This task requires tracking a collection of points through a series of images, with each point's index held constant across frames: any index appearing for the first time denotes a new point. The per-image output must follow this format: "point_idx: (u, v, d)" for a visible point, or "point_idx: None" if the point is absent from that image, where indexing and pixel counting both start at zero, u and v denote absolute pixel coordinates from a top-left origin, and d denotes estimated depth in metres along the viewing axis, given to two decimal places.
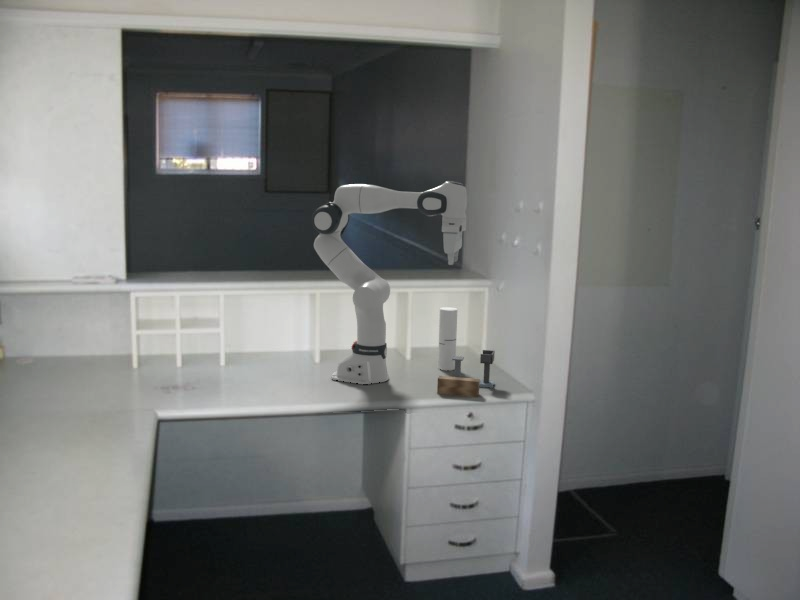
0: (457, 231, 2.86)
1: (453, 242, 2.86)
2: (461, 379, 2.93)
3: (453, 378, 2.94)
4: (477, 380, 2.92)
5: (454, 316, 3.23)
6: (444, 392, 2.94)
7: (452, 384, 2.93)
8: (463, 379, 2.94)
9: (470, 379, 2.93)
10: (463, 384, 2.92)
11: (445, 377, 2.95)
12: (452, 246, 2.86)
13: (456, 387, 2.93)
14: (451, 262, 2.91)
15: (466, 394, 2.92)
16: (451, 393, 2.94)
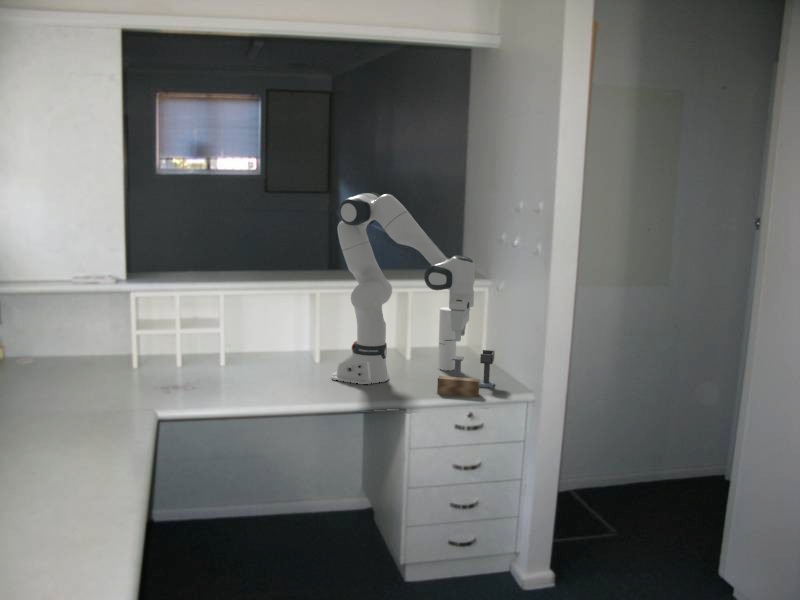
0: (465, 308, 2.80)
1: (461, 320, 2.80)
2: (461, 379, 2.93)
3: (453, 378, 2.94)
4: (477, 380, 2.92)
5: None
6: (444, 392, 2.94)
7: (452, 384, 2.93)
8: (463, 379, 2.94)
9: (470, 379, 2.93)
10: (463, 384, 2.92)
11: (445, 377, 2.95)
12: (460, 323, 2.80)
13: (456, 387, 2.93)
14: (458, 339, 2.86)
15: (466, 394, 2.93)
16: (451, 393, 2.94)
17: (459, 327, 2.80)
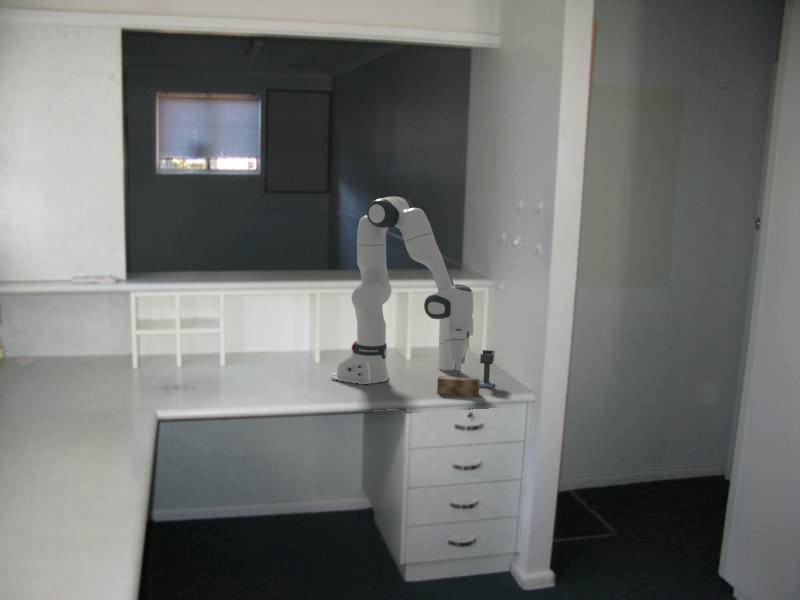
0: (464, 338, 2.82)
1: (460, 349, 2.82)
2: (461, 379, 2.93)
3: (453, 378, 2.94)
4: (477, 380, 2.92)
5: None
6: (444, 392, 2.94)
7: (452, 384, 2.93)
8: (463, 379, 2.94)
9: (470, 379, 2.93)
10: (463, 384, 2.92)
11: (445, 377, 2.95)
12: (460, 353, 2.82)
13: (456, 387, 2.93)
14: (459, 367, 2.87)
15: (466, 394, 2.93)
16: (451, 393, 2.94)
17: (459, 356, 2.82)
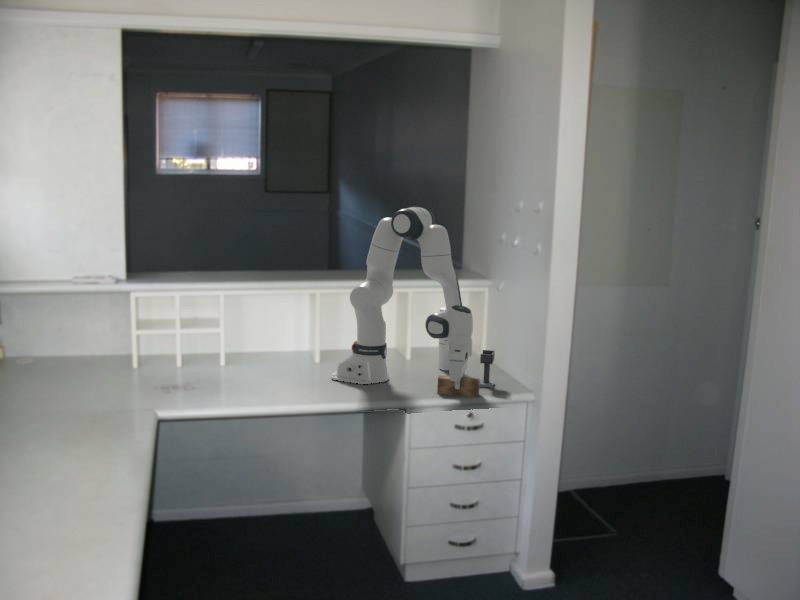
0: (463, 359, 2.84)
1: (459, 370, 2.83)
2: (461, 379, 2.93)
3: None
4: (477, 380, 2.92)
5: None
6: (444, 392, 2.94)
7: (452, 384, 2.93)
8: (463, 378, 2.94)
9: (470, 379, 2.93)
10: (463, 384, 2.92)
11: (445, 377, 2.95)
12: (458, 374, 2.83)
13: None
14: (458, 386, 2.91)
15: (466, 394, 2.92)
16: (451, 393, 2.94)
17: (457, 378, 2.84)
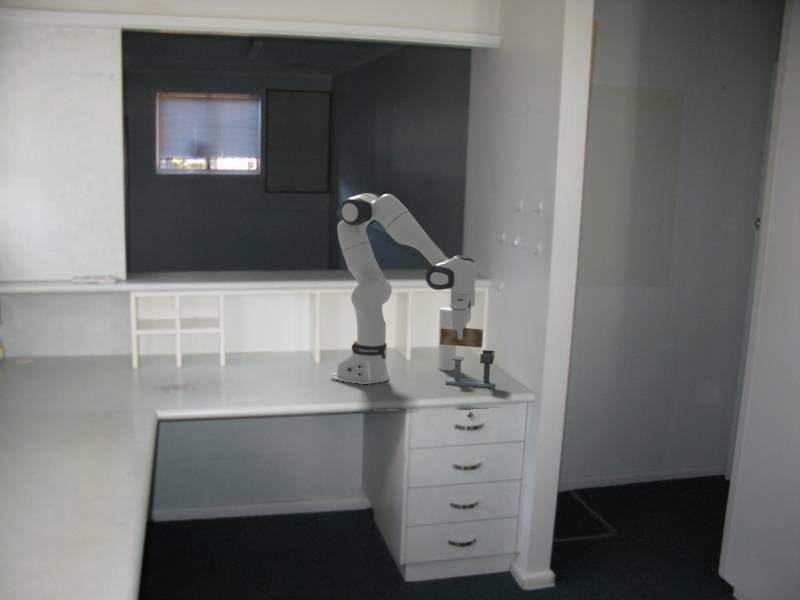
0: (466, 308, 2.82)
1: (462, 319, 2.81)
2: (464, 329, 2.91)
3: None
4: (480, 330, 2.90)
5: None
6: (447, 342, 2.92)
7: (455, 334, 2.91)
8: (466, 329, 2.92)
9: (473, 329, 2.91)
10: (466, 334, 2.90)
11: (448, 328, 2.93)
12: (461, 323, 2.81)
13: None
14: (461, 336, 2.89)
15: (469, 344, 2.91)
16: (454, 343, 2.92)
17: (460, 326, 2.82)
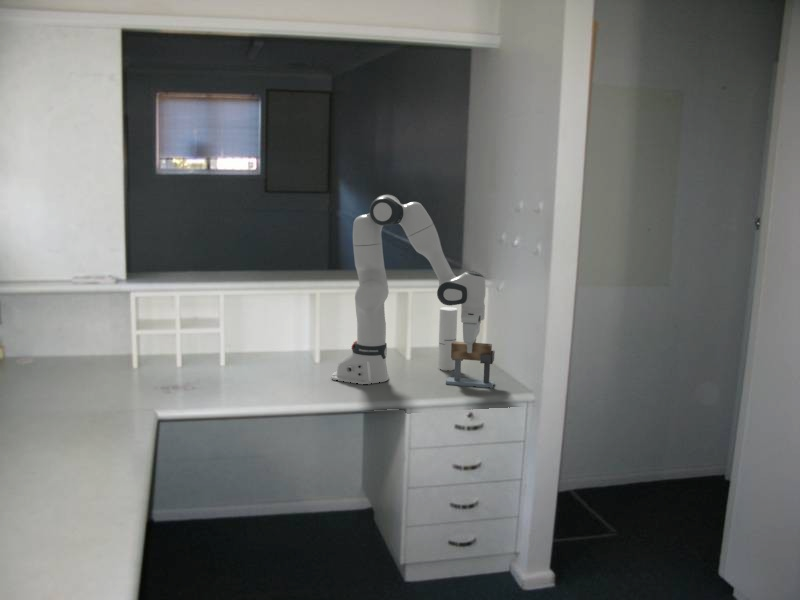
0: (476, 322, 2.94)
1: (472, 333, 2.94)
2: (474, 344, 3.04)
3: (466, 343, 3.05)
4: (489, 345, 3.03)
5: (454, 316, 3.23)
6: (458, 356, 3.05)
7: (465, 349, 3.04)
8: (476, 343, 3.05)
9: (483, 344, 3.04)
10: (476, 349, 3.03)
11: (458, 342, 3.06)
12: (471, 336, 2.94)
13: None
14: (470, 350, 3.00)
15: (479, 358, 3.03)
16: (464, 357, 3.05)
17: (471, 339, 2.94)
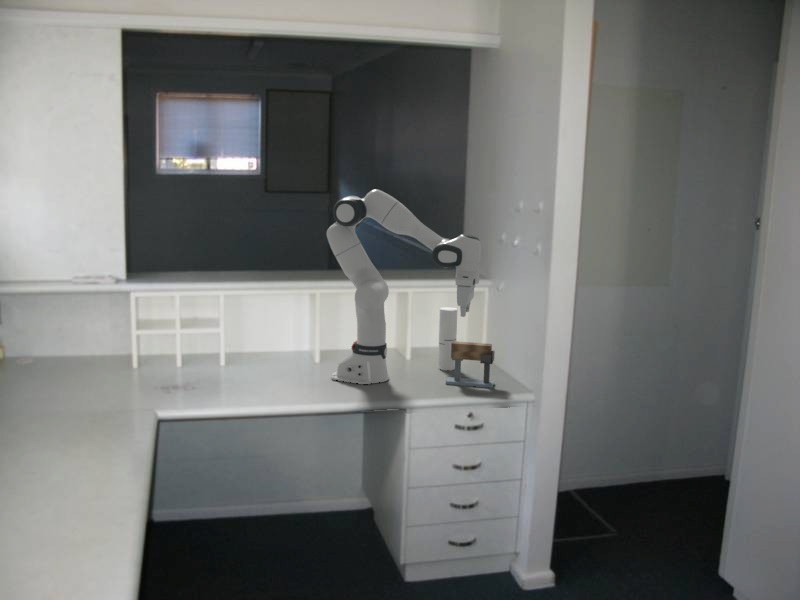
0: (471, 285, 2.91)
1: (466, 295, 2.91)
2: (474, 344, 3.04)
3: (466, 343, 3.05)
4: (489, 345, 3.03)
5: (454, 316, 3.23)
6: (458, 356, 3.05)
7: (465, 349, 3.04)
8: (476, 343, 3.05)
9: (483, 344, 3.04)
10: (476, 349, 3.03)
11: (458, 342, 3.06)
12: (465, 299, 2.91)
13: (469, 352, 3.04)
14: (463, 314, 2.97)
15: (479, 358, 3.03)
16: (464, 357, 3.05)
17: (465, 302, 2.91)
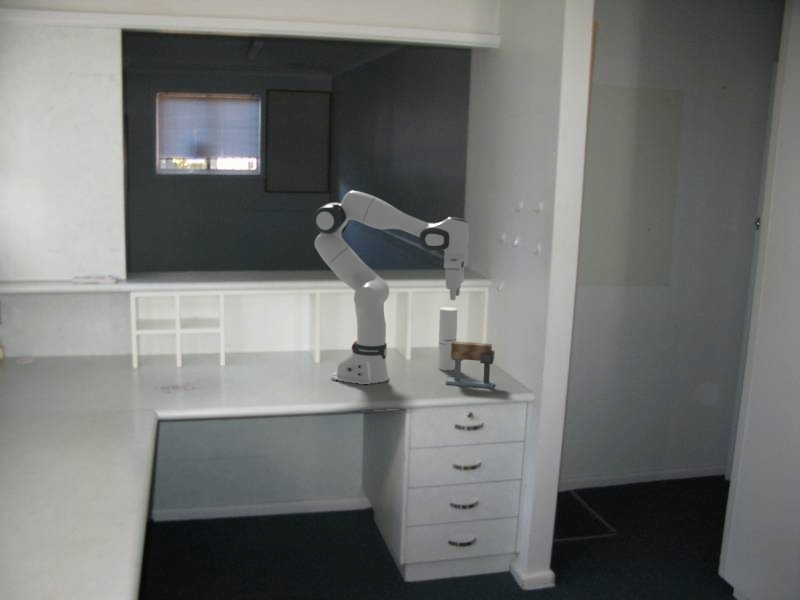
0: (459, 267, 2.88)
1: (455, 278, 2.88)
2: (474, 344, 3.04)
3: (466, 343, 3.05)
4: (489, 345, 3.03)
5: (454, 316, 3.23)
6: (458, 356, 3.05)
7: (465, 349, 3.04)
8: (476, 343, 3.05)
9: (483, 344, 3.04)
10: (476, 349, 3.03)
11: (458, 342, 3.06)
12: (454, 282, 2.88)
13: (469, 352, 3.04)
14: (453, 297, 2.94)
15: (479, 358, 3.03)
16: (464, 357, 3.05)
17: (454, 285, 2.88)
